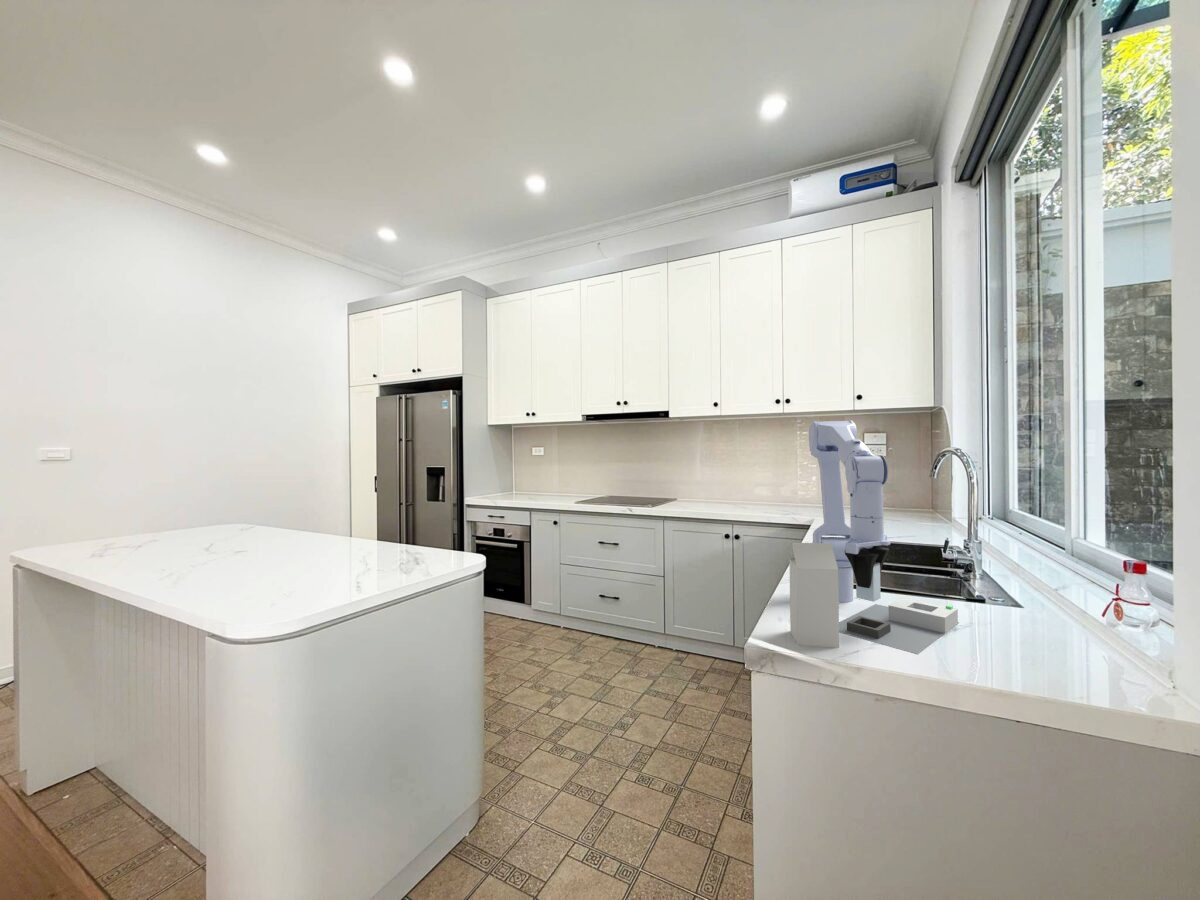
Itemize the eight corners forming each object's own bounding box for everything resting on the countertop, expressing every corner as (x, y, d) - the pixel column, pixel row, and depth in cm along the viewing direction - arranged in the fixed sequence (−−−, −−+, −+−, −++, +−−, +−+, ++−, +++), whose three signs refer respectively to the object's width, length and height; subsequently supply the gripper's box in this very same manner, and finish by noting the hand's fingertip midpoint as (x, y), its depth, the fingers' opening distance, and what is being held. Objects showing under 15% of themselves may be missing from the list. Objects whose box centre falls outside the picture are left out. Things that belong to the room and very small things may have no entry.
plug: (856, 597, 94) (855, 562, 94) (863, 594, 96) (862, 560, 96) (873, 601, 91) (873, 565, 91) (880, 598, 93) (880, 562, 93)
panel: (826, 632, 95) (825, 611, 95) (875, 607, 110) (875, 588, 110) (917, 658, 82) (917, 634, 82) (959, 626, 97) (959, 605, 97)
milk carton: (839, 652, 86) (837, 547, 86) (797, 649, 87) (796, 546, 87) (828, 637, 92) (827, 540, 93) (790, 634, 94) (788, 539, 94)
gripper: (873, 522, 86) (874, 597, 86) (903, 515, 95) (904, 582, 95) (833, 518, 91) (835, 588, 91) (865, 512, 100) (866, 575, 100)
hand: (867, 585), depth 93 cm, fingers closed on plug, 3 cm apart
